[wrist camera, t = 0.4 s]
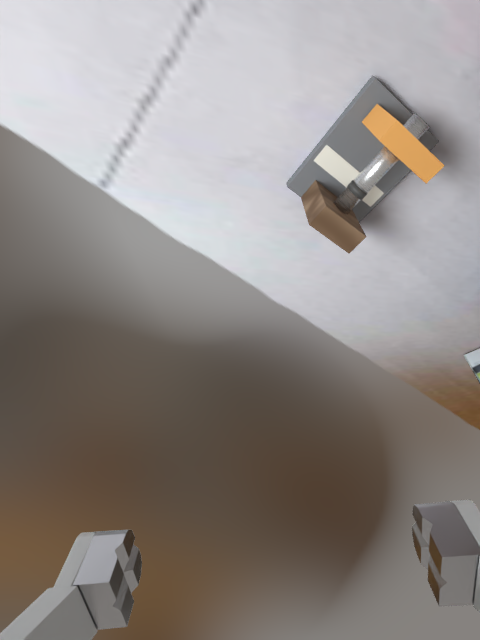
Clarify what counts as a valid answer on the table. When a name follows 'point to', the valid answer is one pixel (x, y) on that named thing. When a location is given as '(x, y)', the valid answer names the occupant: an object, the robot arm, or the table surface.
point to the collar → (402, 143)
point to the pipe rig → (353, 167)
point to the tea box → (474, 362)
